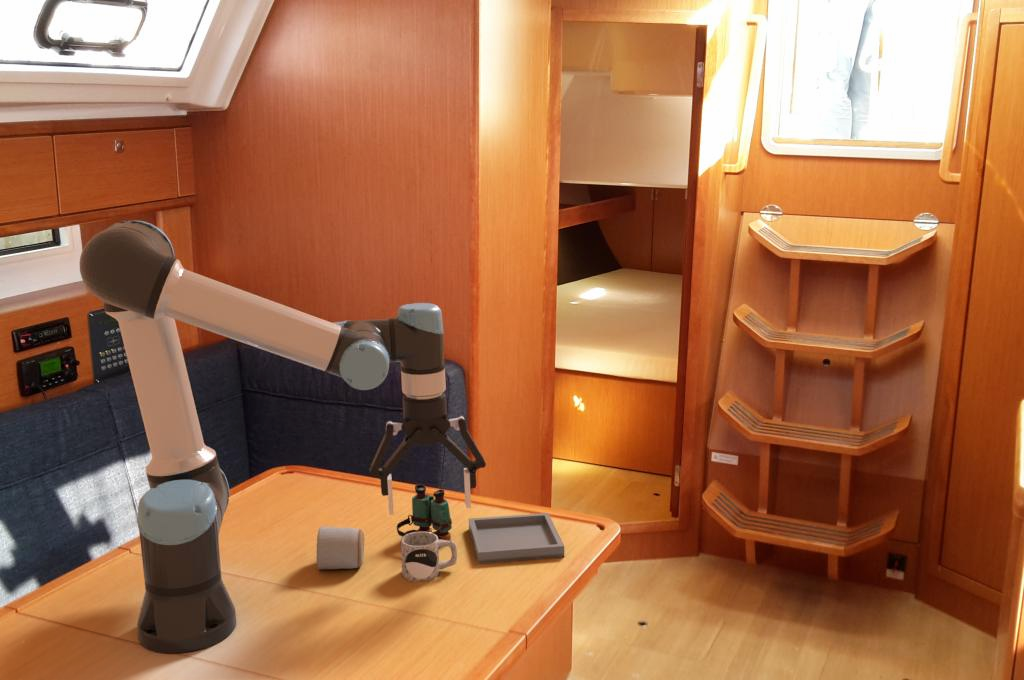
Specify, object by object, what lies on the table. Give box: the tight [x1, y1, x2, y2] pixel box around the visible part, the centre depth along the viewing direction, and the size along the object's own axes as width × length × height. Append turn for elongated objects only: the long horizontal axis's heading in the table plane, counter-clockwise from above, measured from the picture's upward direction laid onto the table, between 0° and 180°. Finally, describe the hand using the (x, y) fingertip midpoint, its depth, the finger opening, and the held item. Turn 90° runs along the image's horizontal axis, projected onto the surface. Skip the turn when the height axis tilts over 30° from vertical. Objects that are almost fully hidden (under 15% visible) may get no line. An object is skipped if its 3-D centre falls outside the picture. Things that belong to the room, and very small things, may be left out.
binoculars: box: [396, 483, 453, 541], centre depth 197 cm, size 9×11×10 cm
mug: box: [400, 532, 458, 583], centre depth 184 cm, size 10×7×7 cm, turn 102°
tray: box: [468, 512, 565, 565], centre depth 197 cm, size 16×16×2 cm
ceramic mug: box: [316, 525, 365, 570], centre depth 189 cm, size 11×8×8 cm
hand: (429, 508), depth 183 cm, fingers open, 13 cm apart
